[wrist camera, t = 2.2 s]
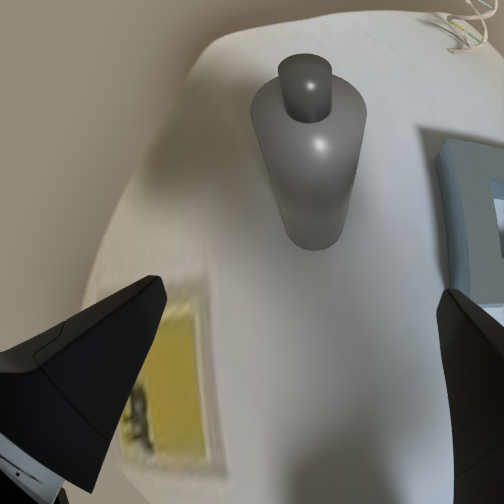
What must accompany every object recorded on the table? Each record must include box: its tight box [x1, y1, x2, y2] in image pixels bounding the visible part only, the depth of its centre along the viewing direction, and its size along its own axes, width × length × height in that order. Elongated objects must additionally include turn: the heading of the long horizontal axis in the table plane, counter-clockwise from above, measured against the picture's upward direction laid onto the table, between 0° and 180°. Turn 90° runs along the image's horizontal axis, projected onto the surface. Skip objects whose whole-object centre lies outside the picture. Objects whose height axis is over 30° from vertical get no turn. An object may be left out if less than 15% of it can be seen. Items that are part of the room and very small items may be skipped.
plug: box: [250, 54, 367, 251], centre depth 15 cm, size 4×4×15 cm
